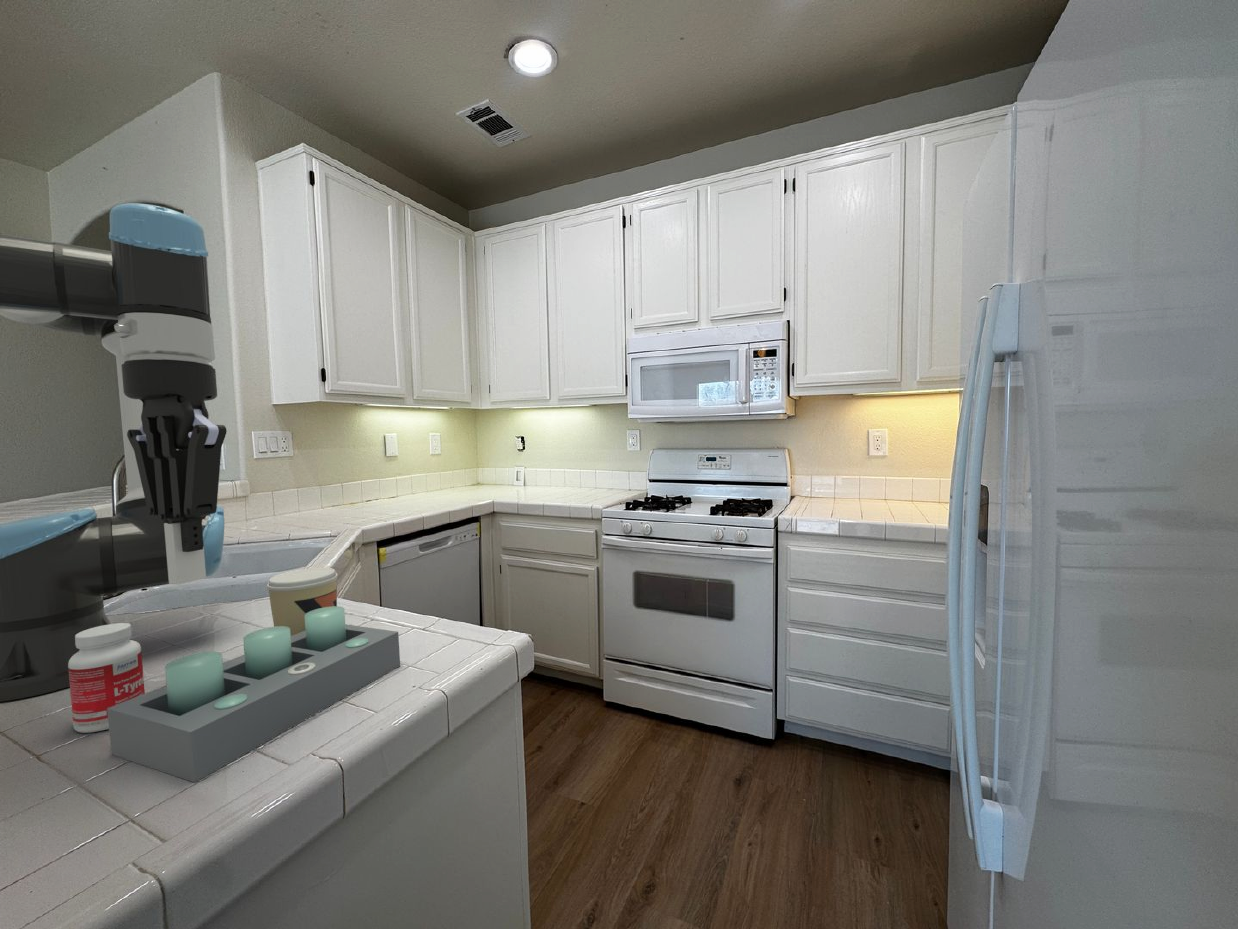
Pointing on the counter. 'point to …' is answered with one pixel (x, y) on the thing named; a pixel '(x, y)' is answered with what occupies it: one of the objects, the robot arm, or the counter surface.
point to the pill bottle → (103, 674)
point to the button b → (267, 651)
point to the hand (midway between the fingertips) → (187, 580)
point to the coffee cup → (301, 595)
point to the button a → (194, 681)
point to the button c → (325, 628)
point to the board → (248, 705)
